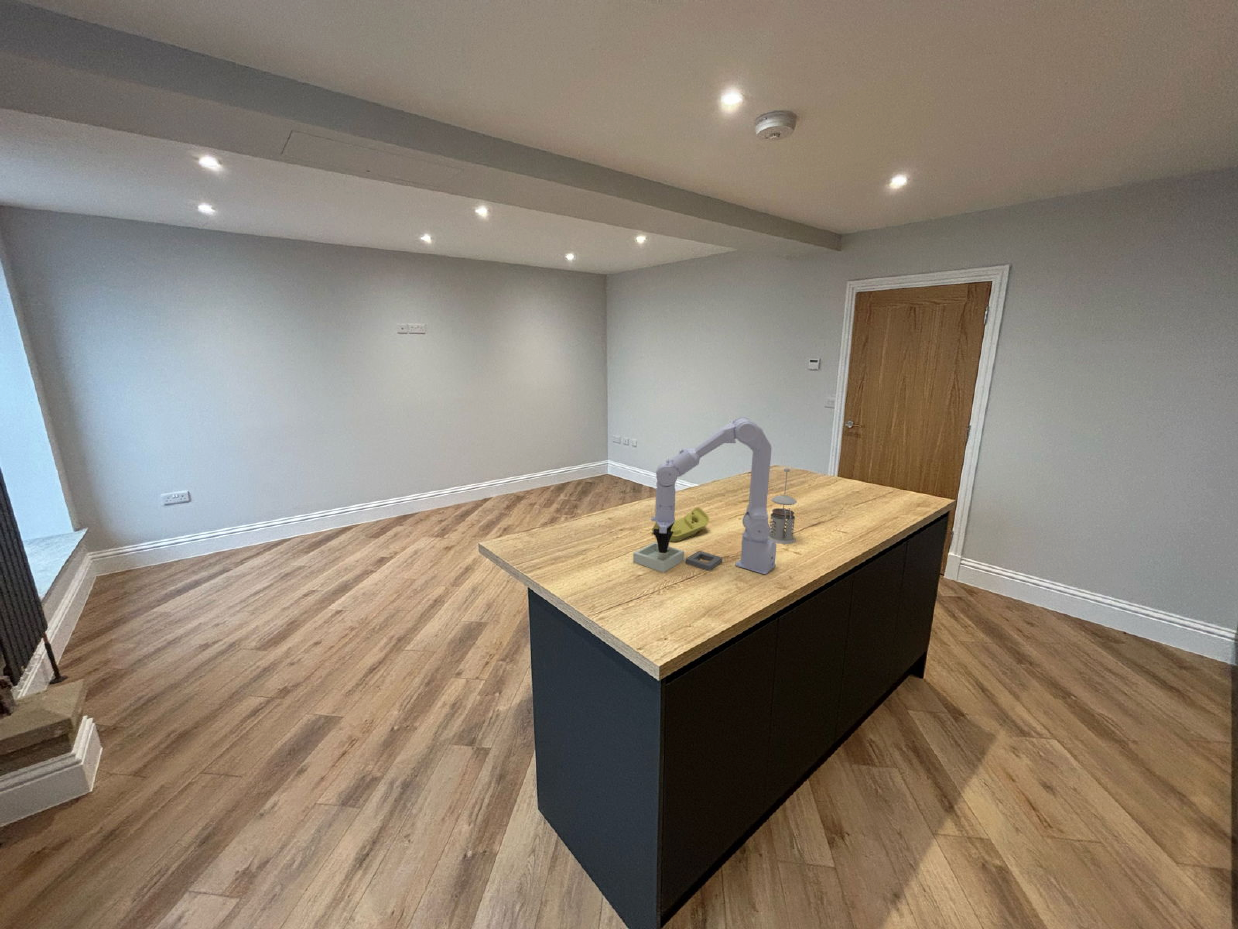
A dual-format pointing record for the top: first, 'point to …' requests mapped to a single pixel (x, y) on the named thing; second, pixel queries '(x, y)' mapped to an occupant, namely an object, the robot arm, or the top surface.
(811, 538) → the top surface
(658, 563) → the parts tray
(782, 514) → the french press
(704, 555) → the gray square frame
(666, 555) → the cylinder
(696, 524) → the plastic component
